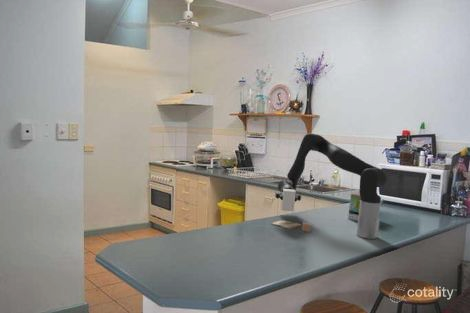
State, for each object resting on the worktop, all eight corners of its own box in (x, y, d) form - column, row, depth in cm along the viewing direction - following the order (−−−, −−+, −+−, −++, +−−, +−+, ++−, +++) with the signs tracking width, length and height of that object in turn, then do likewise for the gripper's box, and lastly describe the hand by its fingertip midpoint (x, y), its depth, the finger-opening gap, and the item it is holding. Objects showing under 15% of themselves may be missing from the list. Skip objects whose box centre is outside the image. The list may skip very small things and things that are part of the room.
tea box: (364, 223, 224) (367, 196, 222) (347, 219, 230) (350, 193, 228) (373, 218, 236) (376, 193, 234) (357, 215, 242) (359, 191, 240)
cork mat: (301, 225, 207) (301, 224, 207) (290, 229, 198) (290, 227, 198) (282, 220, 214) (282, 219, 213) (271, 224, 205) (271, 223, 205)
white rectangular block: (293, 208, 208) (295, 189, 207) (293, 211, 202) (295, 191, 201) (281, 207, 209) (283, 188, 208) (281, 210, 203) (283, 190, 202)
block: (309, 229, 200) (309, 223, 200) (309, 231, 196) (310, 224, 196) (302, 229, 200) (302, 222, 200) (302, 231, 197) (303, 224, 196)
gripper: (275, 184, 219) (275, 190, 203) (301, 187, 218) (304, 193, 201) (273, 198, 220) (273, 204, 203) (300, 200, 219) (302, 207, 202)
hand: (288, 198), depth 202 cm, fingers closed on white rectangular block, 6 cm apart
